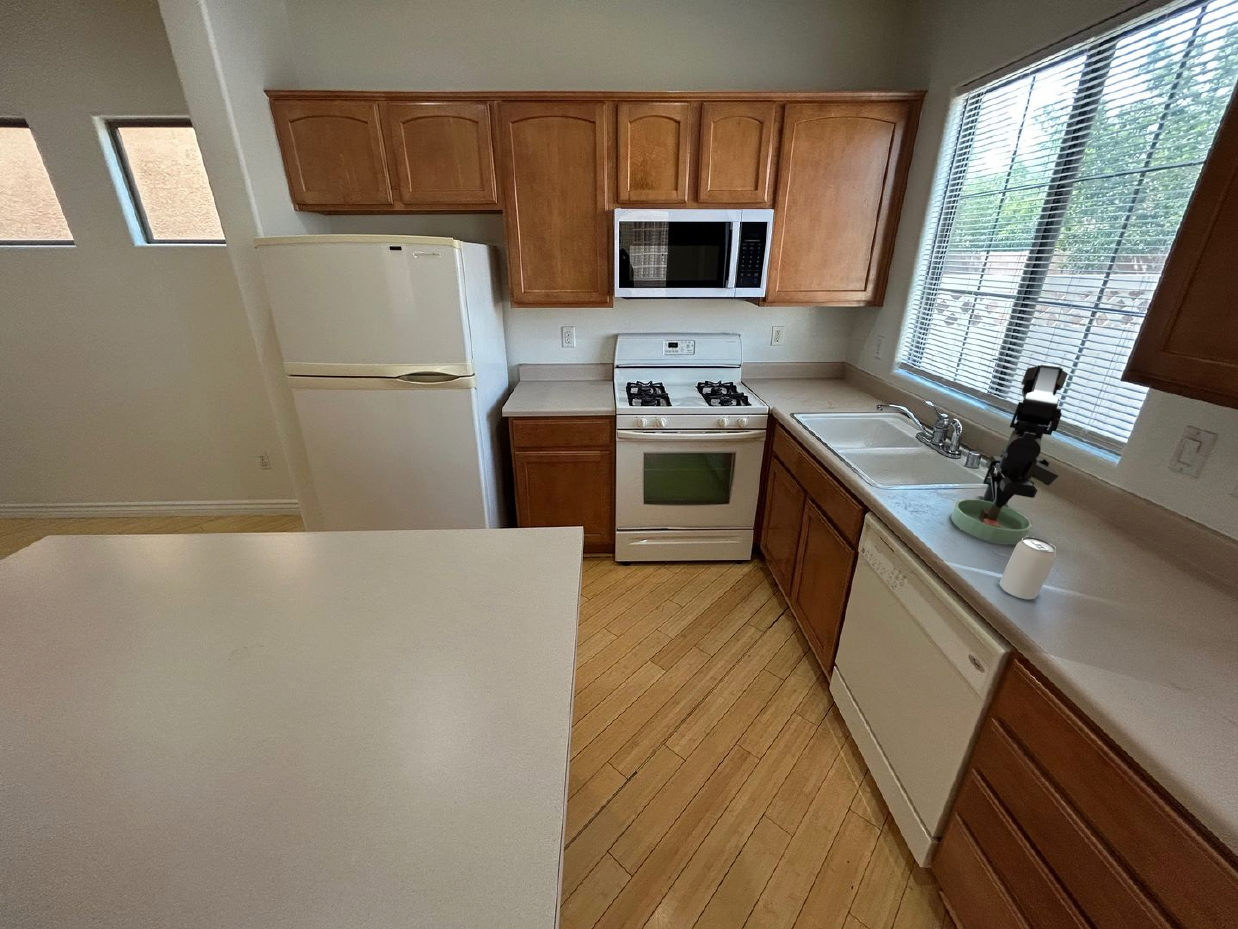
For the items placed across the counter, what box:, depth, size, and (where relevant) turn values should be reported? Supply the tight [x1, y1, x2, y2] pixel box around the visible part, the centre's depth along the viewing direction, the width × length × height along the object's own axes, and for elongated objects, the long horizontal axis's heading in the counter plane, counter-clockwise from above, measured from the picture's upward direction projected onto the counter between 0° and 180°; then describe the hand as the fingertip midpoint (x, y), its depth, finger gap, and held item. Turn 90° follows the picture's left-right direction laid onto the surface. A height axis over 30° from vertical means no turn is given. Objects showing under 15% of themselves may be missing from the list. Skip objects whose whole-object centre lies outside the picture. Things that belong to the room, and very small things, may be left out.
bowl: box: [950, 498, 1033, 545], centre depth 124 cm, size 16×16×4 cm
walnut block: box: [979, 508, 999, 522], centre depth 127 cm, size 3×3×3 cm
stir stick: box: [987, 498, 1001, 521], centre depth 122 cm, size 2×2×12 cm
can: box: [999, 536, 1058, 601], centre depth 100 cm, size 6×6×12 cm
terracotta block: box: [982, 519, 1000, 528], centre depth 122 cm, size 3×3×3 cm
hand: (997, 505), depth 122 cm, fingers closed on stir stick, 2 cm apart
